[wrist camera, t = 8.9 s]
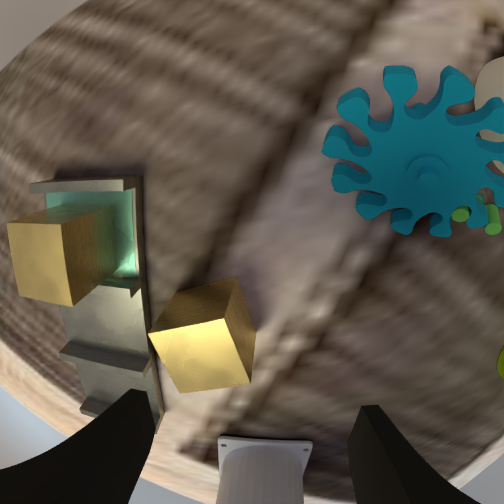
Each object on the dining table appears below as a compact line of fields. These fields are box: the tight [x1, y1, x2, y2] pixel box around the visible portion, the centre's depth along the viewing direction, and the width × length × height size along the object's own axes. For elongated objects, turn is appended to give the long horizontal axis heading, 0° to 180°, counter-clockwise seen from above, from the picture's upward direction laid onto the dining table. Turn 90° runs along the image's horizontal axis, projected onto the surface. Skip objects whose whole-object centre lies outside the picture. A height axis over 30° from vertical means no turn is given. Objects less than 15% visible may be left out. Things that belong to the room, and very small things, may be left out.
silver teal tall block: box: [29, 176, 165, 434], centre depth 19 cm, size 19×7×2 cm, turn 177°
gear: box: [322, 66, 504, 237], centre depth 13 cm, size 11×6×10 cm
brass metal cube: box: [148, 276, 256, 393], centre depth 17 cm, size 4×4×5 cm
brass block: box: [7, 204, 117, 307], centre depth 15 cm, size 4×4×5 cm
